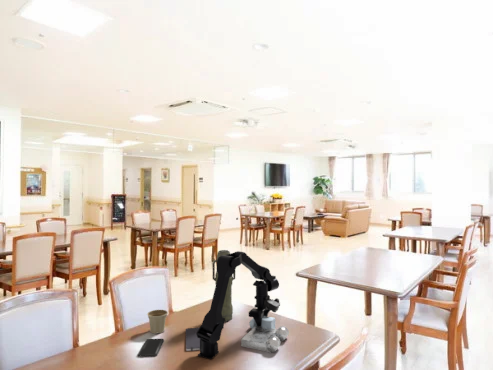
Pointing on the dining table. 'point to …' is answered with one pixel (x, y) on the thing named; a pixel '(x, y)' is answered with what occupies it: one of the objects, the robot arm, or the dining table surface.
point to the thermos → (227, 305)
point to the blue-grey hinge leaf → (264, 322)
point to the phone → (151, 348)
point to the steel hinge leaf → (264, 338)
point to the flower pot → (157, 320)
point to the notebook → (192, 339)
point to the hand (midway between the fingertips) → (262, 326)
